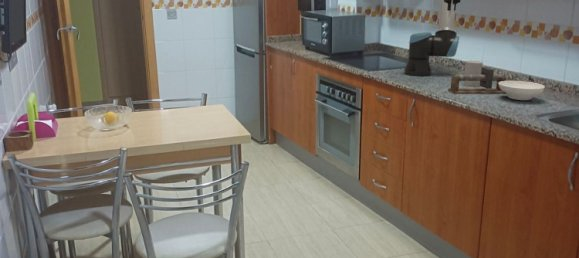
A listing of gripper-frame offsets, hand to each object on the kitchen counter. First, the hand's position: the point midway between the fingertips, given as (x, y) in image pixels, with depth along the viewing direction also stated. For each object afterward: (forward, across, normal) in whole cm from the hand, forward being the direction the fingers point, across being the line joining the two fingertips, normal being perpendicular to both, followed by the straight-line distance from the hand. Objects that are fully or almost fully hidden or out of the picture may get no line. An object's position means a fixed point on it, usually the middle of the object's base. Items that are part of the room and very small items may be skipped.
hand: (450, 17), depth 271 cm
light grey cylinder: (+34, +13, -3) cm, 37 cm away
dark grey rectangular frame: (+31, +12, -21) cm, 40 cm away
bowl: (+34, +21, -37) cm, 55 cm away
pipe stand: (+34, +8, -21) cm, 41 cm away
